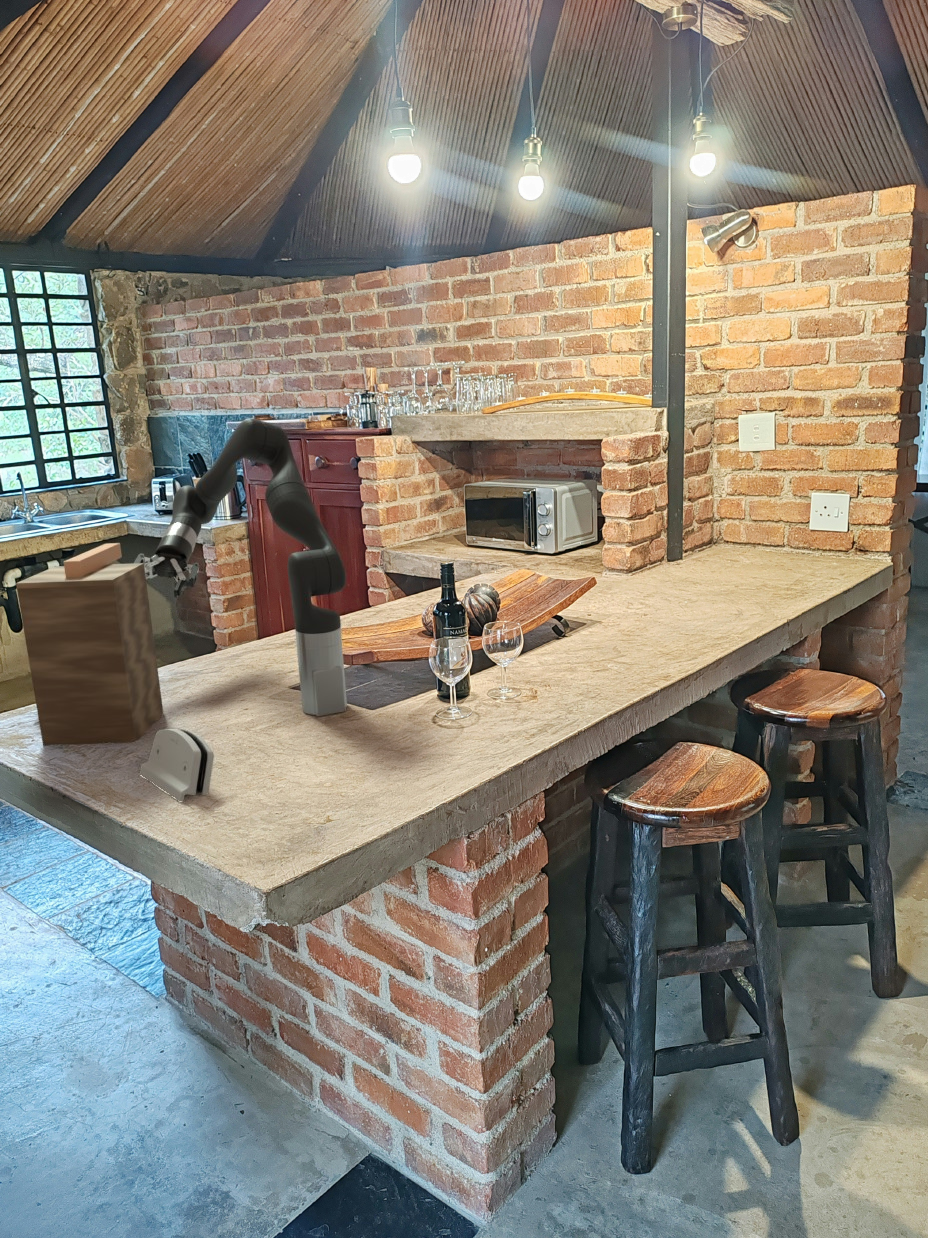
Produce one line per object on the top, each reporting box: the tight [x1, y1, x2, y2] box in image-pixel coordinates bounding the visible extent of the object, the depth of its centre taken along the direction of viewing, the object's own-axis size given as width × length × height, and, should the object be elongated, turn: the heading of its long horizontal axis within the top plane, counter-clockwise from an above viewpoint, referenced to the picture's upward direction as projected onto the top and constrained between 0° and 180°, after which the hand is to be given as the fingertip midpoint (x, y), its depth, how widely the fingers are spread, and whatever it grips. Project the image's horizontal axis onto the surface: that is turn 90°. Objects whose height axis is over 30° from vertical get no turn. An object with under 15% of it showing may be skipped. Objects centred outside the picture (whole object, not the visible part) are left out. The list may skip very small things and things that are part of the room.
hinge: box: [139, 728, 215, 802], centre depth 155 cm, size 17×5×10 cm, turn 42°
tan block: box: [63, 542, 123, 577], centre depth 180 cm, size 20×3×3 cm, turn 179°
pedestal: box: [15, 563, 164, 746], centre depth 178 cm, size 16×18×32 cm
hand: (156, 591), depth 202 cm, fingers open, 8 cm apart
